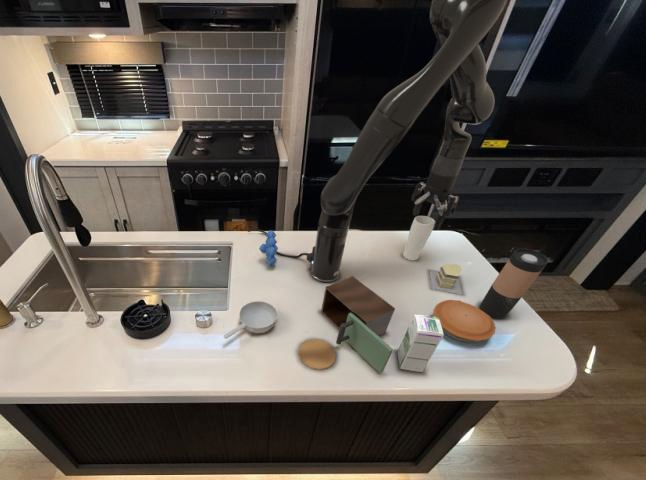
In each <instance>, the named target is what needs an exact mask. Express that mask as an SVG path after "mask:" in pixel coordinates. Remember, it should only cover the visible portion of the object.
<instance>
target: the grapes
mask: <svg viewBox="0 0 646 480" xmlns="http://www.w3.org/2000/svg"><path fill="white" fill-rule="evenodd" d="M265 235H266V237H267V238H266V240H265V242H264V243H262V244H261V245H260V246H259V248H258V249H259V251H260V252H261V253H262V254H265V256H266V260H267V261H266V264H267V265H268V266H269V267H270V268H272V267H274V266H275V265H276V264H277V261H278V259H277V257H276V255H277V254H276V253H277V252H278V249H279V247H278V246H277V242H278V241H277V240H276V236H277V234H276V233H275V232H274V230H271V229H270V230H268V231H267V234H265Z"/></svg>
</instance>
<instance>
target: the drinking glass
mask: <svg viewBox="0 0 646 480" xmlns="http://www.w3.org/2000/svg"><path fill="white" fill-rule="evenodd" d="M435 222H436V219H433V218H432V217H430V216H427V215H415V217H414V218H413V221H412V223H411V226H410V228H409V233H408V236H407V240H406V243H405V247H404V251H403V253H402V256H403V258H405V260H408V261H417V260H418V259H419V258H420V255H421V254H422V251H423V250H424V247H425V246H426V244H427V242H428V240H429V238H430V237H431V234H432V232H433V230H434V227H435V225H434V224H435Z"/></svg>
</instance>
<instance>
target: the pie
mask: <svg viewBox="0 0 646 480" xmlns="http://www.w3.org/2000/svg"><path fill="white" fill-rule="evenodd" d="M432 311H433V316H434V317H439V320H440V323H441V327H442V330H443V333H444V335H446V336H447V337H448V338H450V339H452V340H455V341H457V342H461V343H475V342H479V341H485V340H489V339H491V338H492V337H493V336H494V335H495V334H496V324H495V321H494V319H493V318H491V317H490V316H489V315H487V314H486V313H485V312H483V311H482V310H480V309H479V307H477V306H475V305H473V304H470V303H469V302H468V303H467V302H465V301H462V300H455V299H448V300H447V299H446V300H442V301H440V302H438V303H437V304H436V305H435V306H434V308H433V310H432Z"/></svg>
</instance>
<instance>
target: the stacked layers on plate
mask: <svg viewBox="0 0 646 480" xmlns="http://www.w3.org/2000/svg"><path fill="white" fill-rule="evenodd" d="M462 270H463V269H462V266H460V265H458V264H456V263H442V264H441V267H440V268H439V271H438V272H437V271H430V270H429V277H430V286H431V289H432V290H436V291H441V292H447V293H450V294H451V293H452V294H458V295H463V293H462V288H461V284H460V280H459V277H460V275H461V273H462Z"/></svg>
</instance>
